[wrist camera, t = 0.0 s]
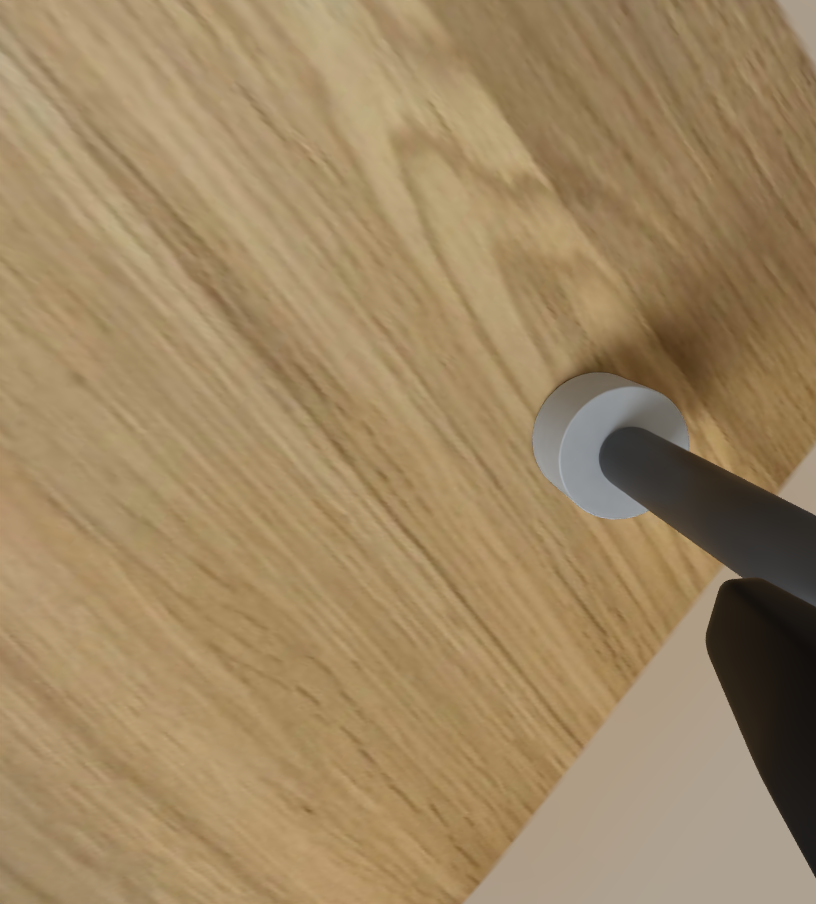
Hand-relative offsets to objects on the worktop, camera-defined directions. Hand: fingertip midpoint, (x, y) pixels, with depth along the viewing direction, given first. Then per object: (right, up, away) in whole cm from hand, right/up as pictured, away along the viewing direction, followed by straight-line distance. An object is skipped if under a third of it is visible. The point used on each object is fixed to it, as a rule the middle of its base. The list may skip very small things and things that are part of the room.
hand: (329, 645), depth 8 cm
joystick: (+7, +3, +16) cm, 18 cm away
